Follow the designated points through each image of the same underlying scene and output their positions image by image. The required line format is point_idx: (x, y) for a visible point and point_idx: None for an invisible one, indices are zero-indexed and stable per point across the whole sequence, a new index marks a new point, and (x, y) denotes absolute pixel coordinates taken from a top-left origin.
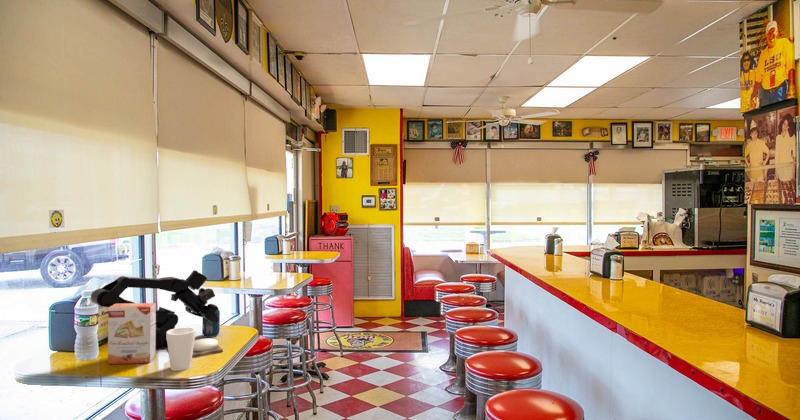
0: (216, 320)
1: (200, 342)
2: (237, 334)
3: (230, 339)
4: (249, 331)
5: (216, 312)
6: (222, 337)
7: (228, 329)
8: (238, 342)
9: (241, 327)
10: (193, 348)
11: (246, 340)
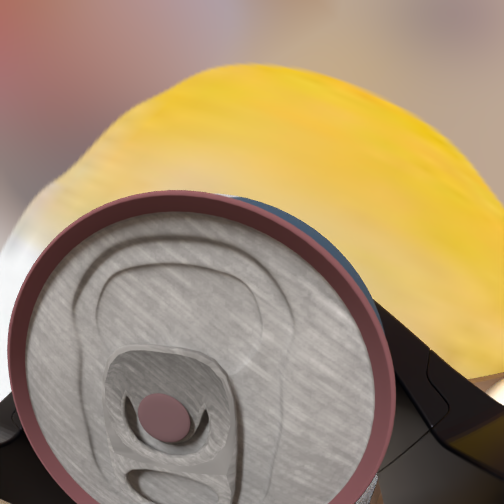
0: None
1: None
2: (349, 162)
3: (434, 252)
4: (322, 84)
5: (383, 329)
6: None
7: (176, 160)
8: (499, 240)
9: (195, 86)
10: None
11: (486, 188)
